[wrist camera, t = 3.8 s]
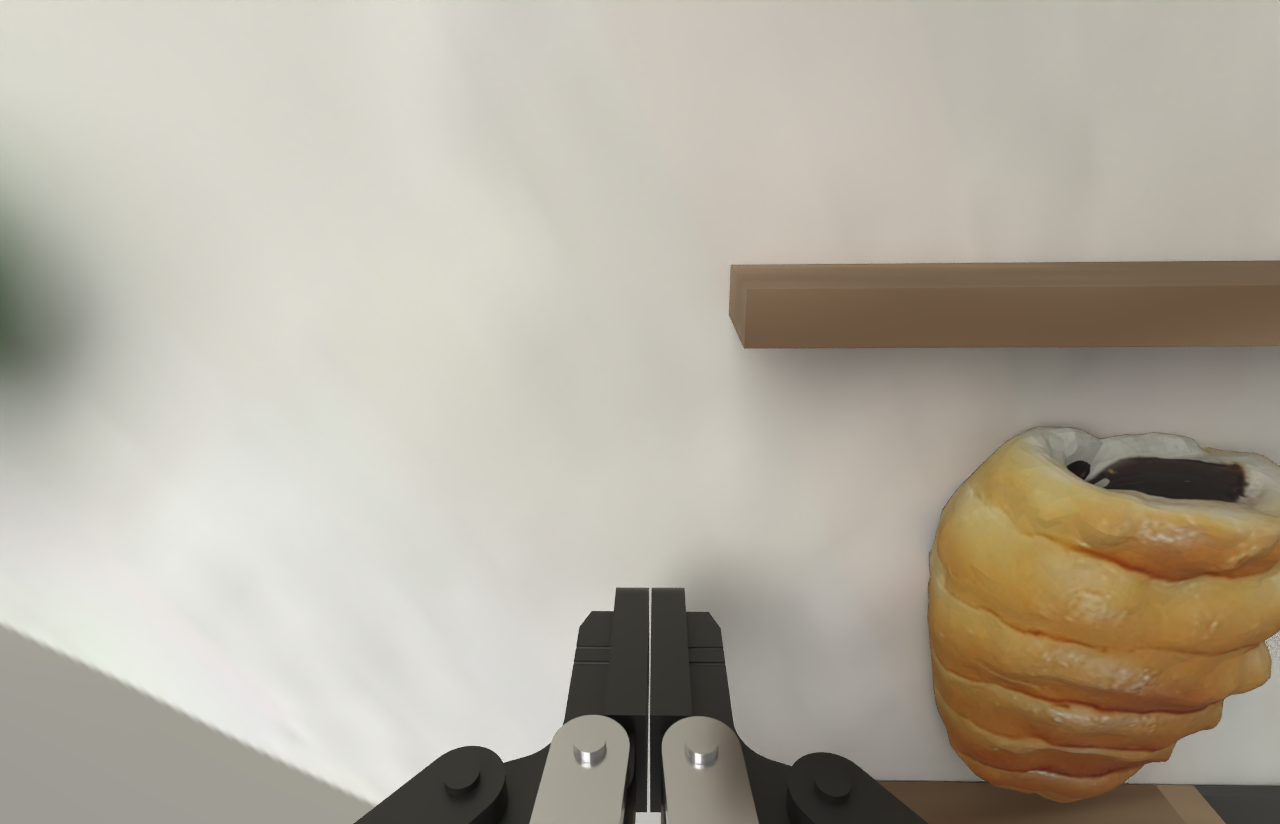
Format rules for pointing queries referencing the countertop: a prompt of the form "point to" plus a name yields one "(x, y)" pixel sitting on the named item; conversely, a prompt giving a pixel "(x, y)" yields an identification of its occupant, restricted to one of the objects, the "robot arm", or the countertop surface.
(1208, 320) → the lane
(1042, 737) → the pastry
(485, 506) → the countertop surface
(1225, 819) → the mats
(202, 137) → the countertop surface
